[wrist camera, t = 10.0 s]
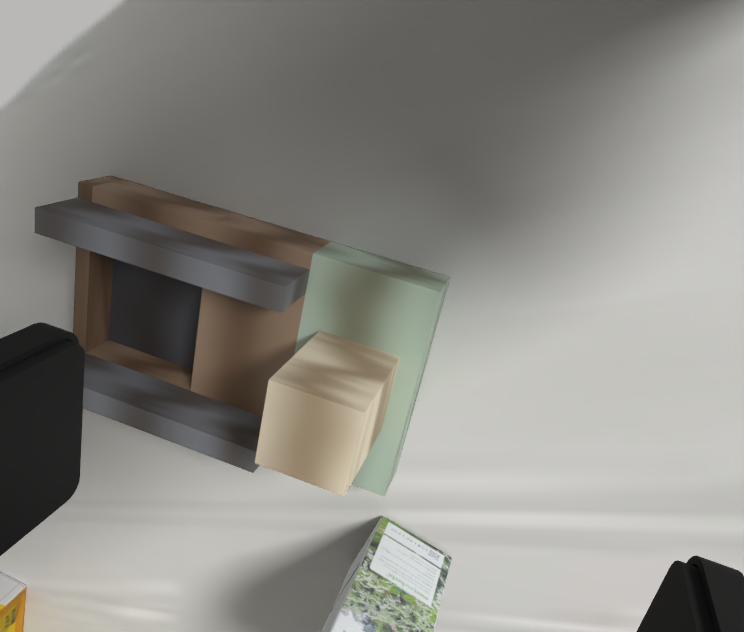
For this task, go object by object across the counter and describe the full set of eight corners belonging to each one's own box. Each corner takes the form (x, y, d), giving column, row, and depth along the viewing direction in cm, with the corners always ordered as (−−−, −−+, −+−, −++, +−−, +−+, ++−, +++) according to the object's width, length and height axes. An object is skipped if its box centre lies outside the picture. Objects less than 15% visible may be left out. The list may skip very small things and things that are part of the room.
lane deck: (450, 277, 38) (427, 312, 32) (396, 470, 43) (368, 531, 37) (110, 175, 42) (35, 190, 36) (100, 363, 47) (33, 402, 41)
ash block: (400, 356, 37) (364, 412, 31) (381, 429, 39) (344, 496, 32) (319, 330, 38) (268, 379, 31) (305, 402, 40) (254, 462, 33)
